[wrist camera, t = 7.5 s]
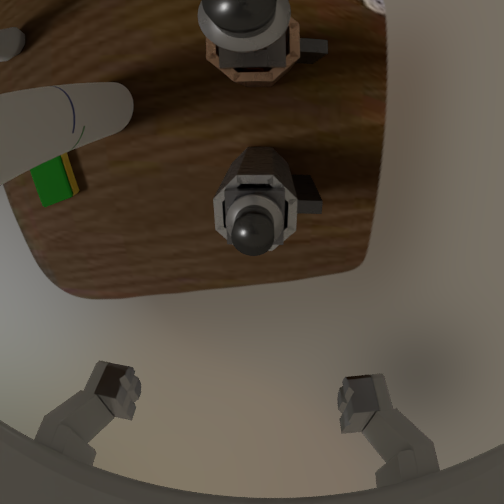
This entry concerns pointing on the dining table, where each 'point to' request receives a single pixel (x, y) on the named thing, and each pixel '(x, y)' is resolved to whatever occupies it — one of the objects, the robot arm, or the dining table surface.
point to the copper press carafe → (267, 58)
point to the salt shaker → (11, 43)
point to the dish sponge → (54, 180)
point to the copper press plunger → (244, 23)
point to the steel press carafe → (266, 189)
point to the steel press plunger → (254, 223)
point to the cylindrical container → (57, 122)
